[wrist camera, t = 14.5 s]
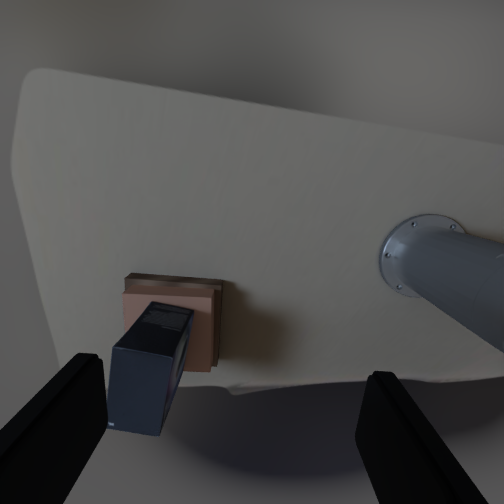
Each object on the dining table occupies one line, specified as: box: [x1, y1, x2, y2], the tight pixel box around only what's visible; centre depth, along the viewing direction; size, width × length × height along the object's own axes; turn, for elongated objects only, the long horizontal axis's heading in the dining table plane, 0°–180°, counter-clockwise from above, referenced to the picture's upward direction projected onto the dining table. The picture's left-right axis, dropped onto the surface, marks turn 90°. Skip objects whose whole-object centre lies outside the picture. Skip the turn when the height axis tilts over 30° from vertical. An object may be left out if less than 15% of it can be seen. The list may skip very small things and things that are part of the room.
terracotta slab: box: [122, 285, 214, 372], centre depth 39 cm, size 12×12×3 cm
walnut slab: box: [125, 273, 223, 367], centre depth 42 cm, size 14×14×3 cm
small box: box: [107, 301, 194, 437], centre depth 32 cm, size 11×6×10 cm, turn 167°
